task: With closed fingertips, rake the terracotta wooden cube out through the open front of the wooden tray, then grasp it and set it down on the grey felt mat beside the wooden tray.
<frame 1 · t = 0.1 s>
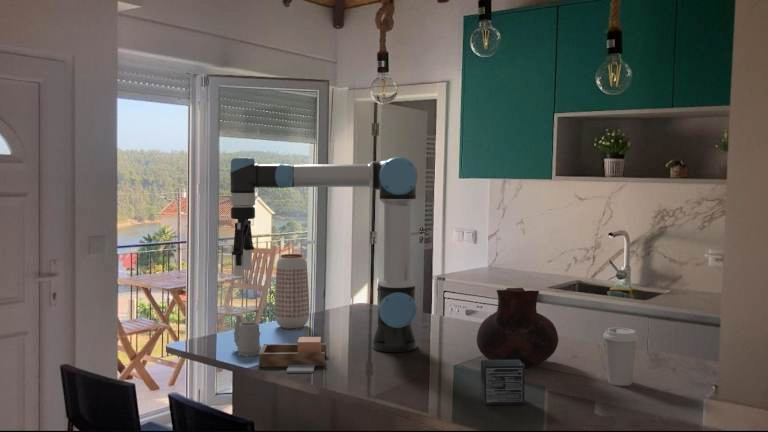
hand: (243, 273, 222), 28 cm above the kitchen island, fingers open, 13 cm apart
patterned vase: (292, 327, 270), on the kitchen island
coffee cup: (619, 383, 198), on the kitchen island
mug: (245, 352, 232), on the kitchen island
small box: (502, 402, 182), on the kitchen island
mat: (300, 369, 211), on the kitchen island
wooden tray: (295, 360, 221), on the kitchen island
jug: (516, 365, 217), on the kitchen island
block: (309, 361, 221), on the kitchen island
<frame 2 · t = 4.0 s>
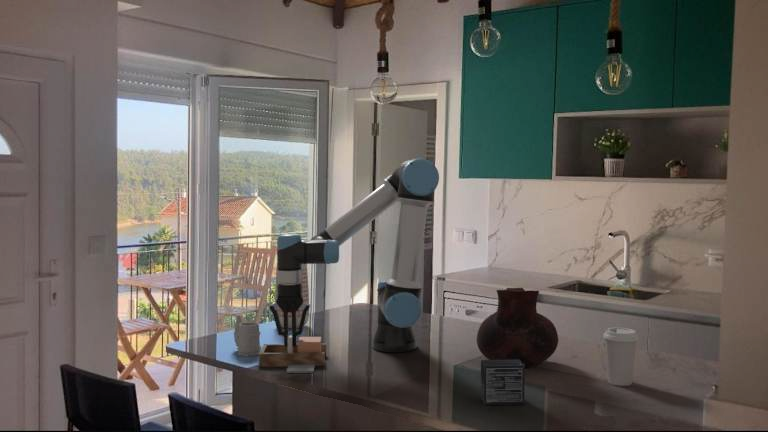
hand: (290, 356, 221), 1 cm above the kitchen island, fingers closed
block: (309, 361, 221), on the kitchen island, touching gripper
everything else where it was.
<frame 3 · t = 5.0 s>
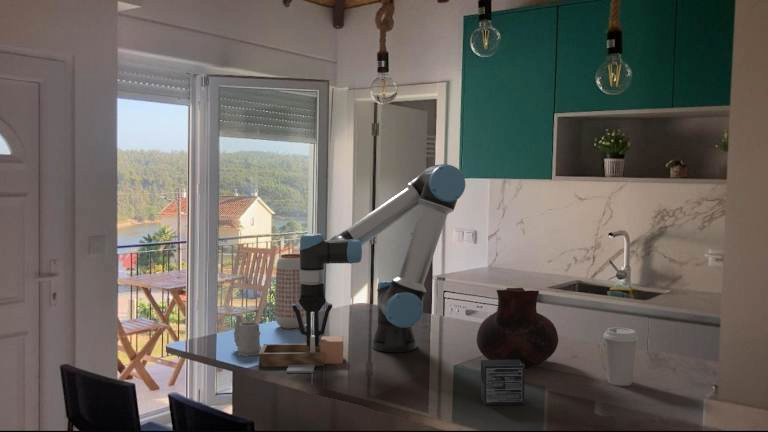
hand: (312, 356, 221), 1 cm above the kitchen island, fingers closed
block: (332, 360, 221), on the kitchen island, touching gripper
everything else where it was.
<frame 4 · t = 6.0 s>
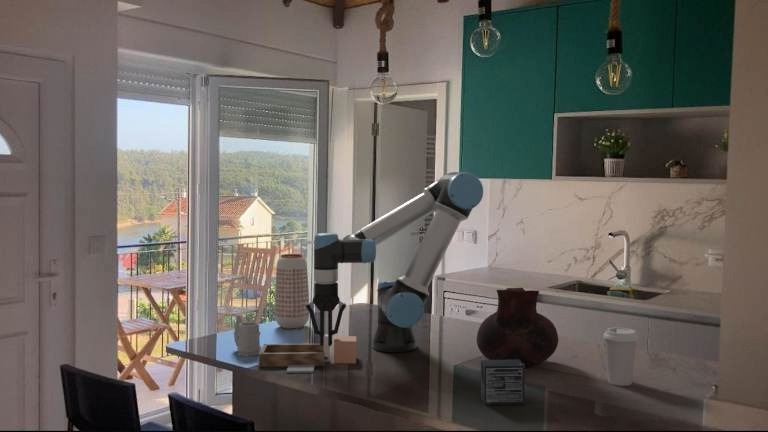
hand: (326, 355, 221), 2 cm above the kitchen island, fingers closed
block: (345, 360, 221), on the kitchen island, touching gripper
everything else where it was.
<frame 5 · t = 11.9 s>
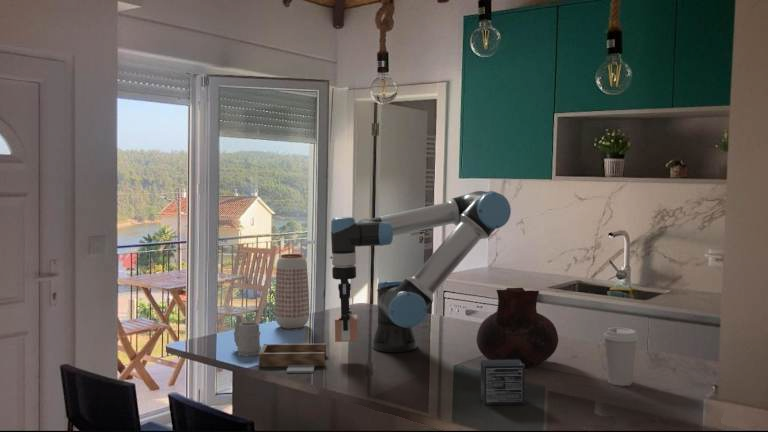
hand: (346, 337, 221), 7 cm above the kitchen island, fingers closed on block, 7 cm apart
block: (346, 338, 221), point 7 cm above the kitchen island, touching gripper
everything else where it was.
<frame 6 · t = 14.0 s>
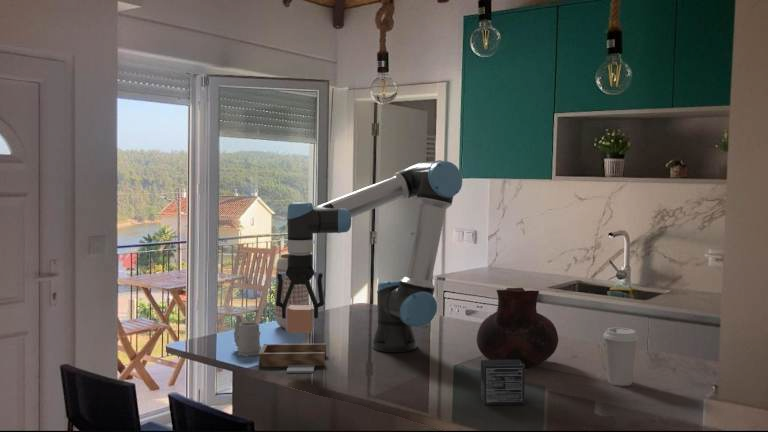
hand: (300, 328, 210), 13 cm above the kitchen island, fingers closed on block, 7 cm apart
block: (300, 330, 210), point 12 cm above the kitchen island, touching gripper
everything else where it was.
when the fingers open (1 cm above the kitchen island, at t = 16.3 s): block stays where it is, resting on mat.
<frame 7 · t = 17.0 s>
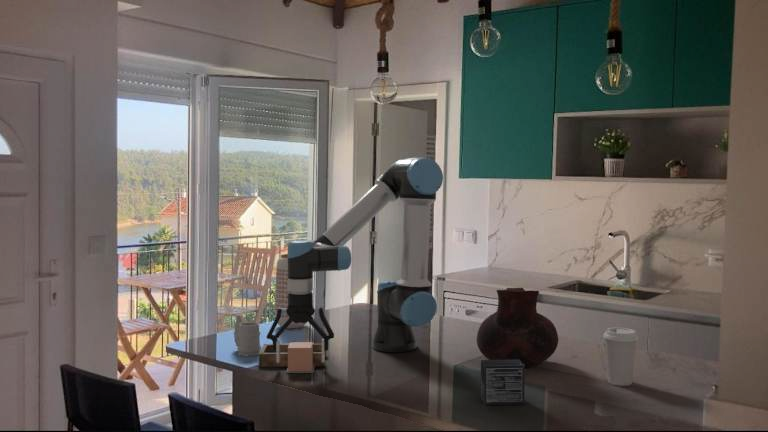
hand: (300, 361, 211), 3 cm above the kitchen island, fingers open, 13 cm apart
block: (300, 367, 211), point 1 cm above the kitchen island, touching mat
everything else where it was.
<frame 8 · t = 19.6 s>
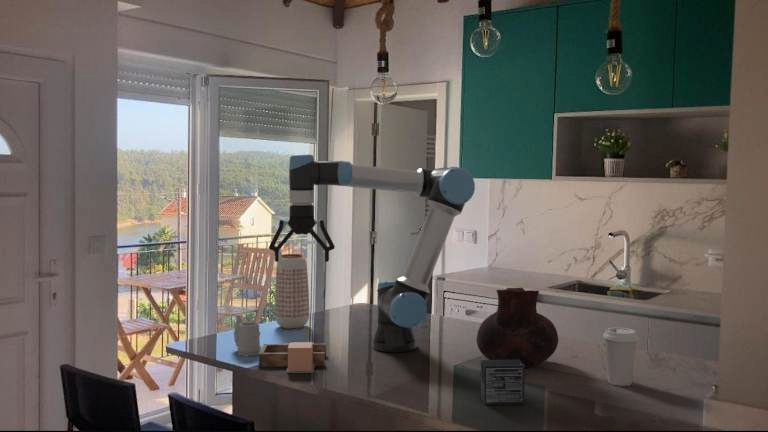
hand: (302, 272, 217), 29 cm above the kitchen island, fingers open, 13 cm apart
nothing on the kitchen island moved.
at the end: block inside the target area on the mat (0.1 cm from its centre), point 0.6 cm above the mat's base; block tilted 0°; block touching mat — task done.
